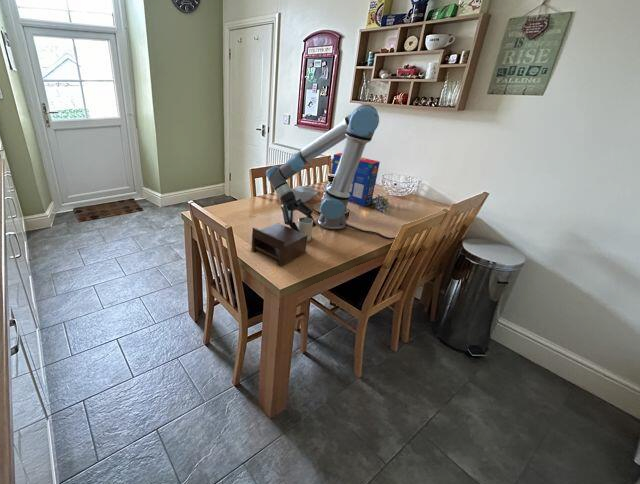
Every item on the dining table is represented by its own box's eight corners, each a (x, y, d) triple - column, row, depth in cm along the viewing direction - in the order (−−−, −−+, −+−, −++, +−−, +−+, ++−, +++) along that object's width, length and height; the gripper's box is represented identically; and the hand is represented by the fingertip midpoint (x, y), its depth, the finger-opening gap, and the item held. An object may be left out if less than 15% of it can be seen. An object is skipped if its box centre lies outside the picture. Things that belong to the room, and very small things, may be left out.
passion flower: (380, 220, 202) (380, 209, 193) (366, 211, 209) (365, 200, 199) (392, 208, 204) (393, 196, 194) (377, 199, 210) (377, 188, 201)
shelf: (276, 238, 165) (277, 217, 160) (305, 252, 154) (308, 229, 149) (251, 250, 154) (252, 227, 149) (281, 266, 142) (283, 241, 137)
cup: (311, 235, 169) (313, 218, 165) (310, 242, 162) (312, 224, 158) (297, 233, 171) (298, 216, 167) (295, 240, 164) (296, 222, 160)
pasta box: (371, 204, 212) (379, 161, 200) (364, 206, 207) (372, 163, 195) (335, 192, 231) (341, 152, 220) (328, 194, 227) (333, 154, 215)
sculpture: (299, 192, 229) (300, 179, 225) (323, 199, 217) (324, 185, 213) (276, 201, 212) (277, 187, 208) (301, 209, 200) (302, 194, 196)
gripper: (295, 192, 178) (315, 226, 175) (265, 203, 162) (286, 241, 159) (304, 185, 172) (325, 220, 169) (274, 196, 156) (296, 235, 153)
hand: (306, 230), depth 164 cm, fingers open, 13 cm apart
